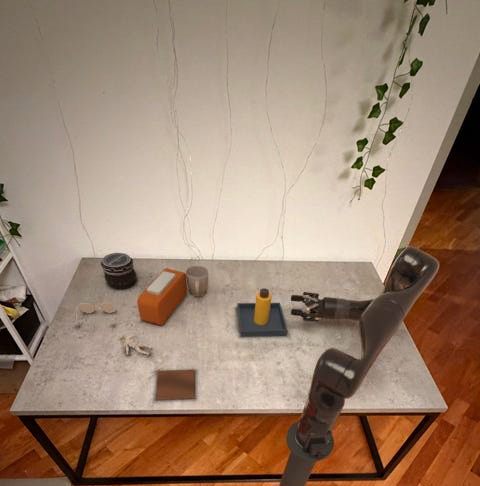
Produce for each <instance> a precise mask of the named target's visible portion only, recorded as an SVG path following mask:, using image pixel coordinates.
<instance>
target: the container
mask: <svg viewBox="0 0 480 486" xmlns="http://www.w3.org/2000/svg"><path fill="white" fill-rule="evenodd" d="M100 266H101V268H102V271H103V273H104V280H105V282H106V283H107V284H108V285H109V287H110V288H112V289H115V290H125V289H129V288H131V287H133V286H134V285H135V284H136V281H137V280H136V277H137V273H136V271H135V269H134V267H135V266H134V259H133V258H132V257H131V256H130V255H129V254H128V253H123V252H112V253H108V254H106V255H105V256H103V257H102V259H101V262H100Z"/></svg>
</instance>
